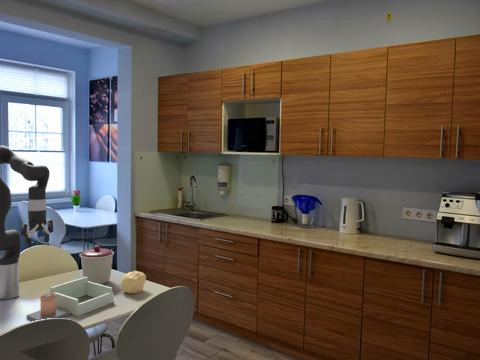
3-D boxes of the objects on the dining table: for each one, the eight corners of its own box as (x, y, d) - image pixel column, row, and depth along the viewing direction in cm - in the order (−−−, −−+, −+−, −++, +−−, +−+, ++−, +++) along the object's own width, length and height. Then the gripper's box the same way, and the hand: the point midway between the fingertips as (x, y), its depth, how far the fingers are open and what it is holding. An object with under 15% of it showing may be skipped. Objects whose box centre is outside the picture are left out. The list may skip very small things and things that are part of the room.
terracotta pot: (37, 314, 176) (36, 296, 175) (50, 309, 181) (50, 292, 181) (45, 317, 172) (45, 299, 172) (59, 312, 178) (59, 294, 177)
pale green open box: (50, 306, 189) (50, 287, 188) (86, 293, 206) (86, 276, 205) (78, 315, 178) (78, 296, 178) (113, 302, 196) (113, 283, 195)
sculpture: (137, 296, 203) (137, 275, 203) (116, 293, 207) (116, 273, 207) (149, 289, 214) (149, 269, 214) (129, 286, 218) (129, 267, 217)
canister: (74, 281, 224) (74, 244, 223) (105, 275, 237) (105, 240, 235) (87, 290, 211) (87, 250, 210) (119, 283, 223) (119, 246, 222)
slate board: (26, 318, 175) (26, 315, 175) (51, 309, 185) (51, 306, 185) (43, 325, 169) (43, 321, 168) (68, 315, 179) (68, 312, 179)
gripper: (46, 206, 192) (47, 240, 193) (17, 209, 179) (17, 245, 181) (56, 208, 188) (56, 242, 189) (27, 211, 176) (27, 248, 177)
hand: (37, 243), depth 185 cm, fingers open, 8 cm apart
